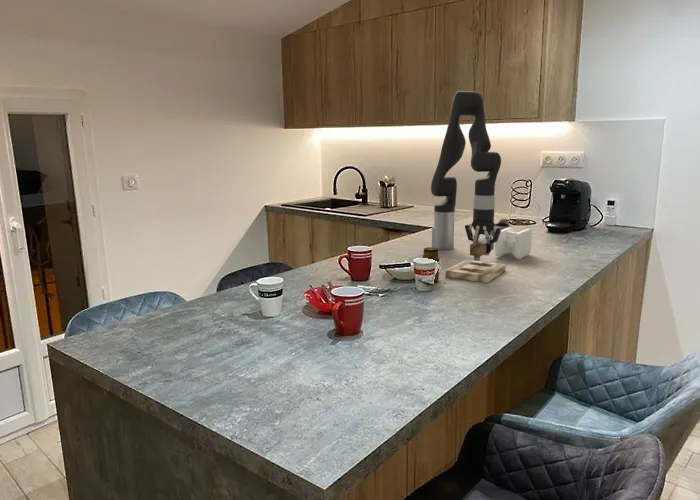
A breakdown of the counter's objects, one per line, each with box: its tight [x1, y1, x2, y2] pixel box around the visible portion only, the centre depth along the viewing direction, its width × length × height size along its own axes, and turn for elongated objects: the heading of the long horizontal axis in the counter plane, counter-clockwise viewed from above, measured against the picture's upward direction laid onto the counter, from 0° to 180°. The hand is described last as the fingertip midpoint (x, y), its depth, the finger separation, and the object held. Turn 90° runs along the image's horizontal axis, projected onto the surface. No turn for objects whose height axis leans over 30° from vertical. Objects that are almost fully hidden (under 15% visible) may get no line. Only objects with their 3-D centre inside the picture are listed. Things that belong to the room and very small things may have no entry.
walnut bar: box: [469, 237, 495, 261], centre depth 196 cm, size 4×14×6 cm, turn 146°
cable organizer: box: [494, 227, 533, 261], centre depth 224 cm, size 15×11×12 cm
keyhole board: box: [445, 259, 507, 284], centre depth 199 cm, size 16×20×2 cm
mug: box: [491, 217, 512, 238], centre depth 262 cm, size 10×12×10 cm
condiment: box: [422, 246, 447, 285], centre depth 189 cm, size 7×8×12 cm
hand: (482, 252), depth 196 cm, fingers closed on walnut bar, 4 cm apart
